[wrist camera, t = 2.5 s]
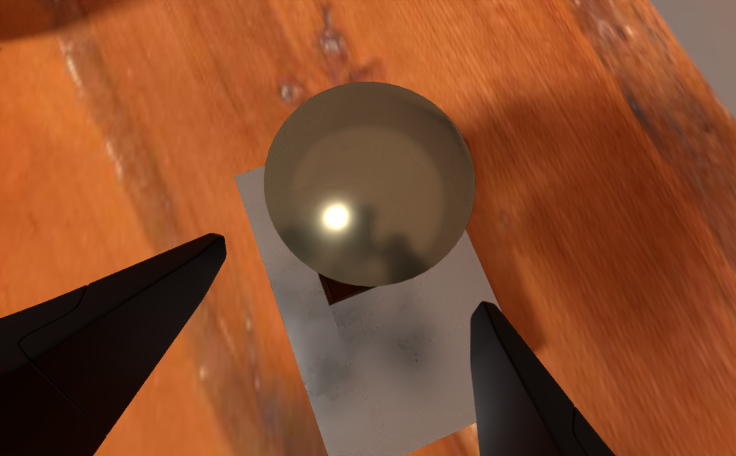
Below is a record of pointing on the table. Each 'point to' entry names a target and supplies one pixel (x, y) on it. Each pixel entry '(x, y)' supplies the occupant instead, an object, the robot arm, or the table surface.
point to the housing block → (377, 343)
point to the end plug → (369, 184)
